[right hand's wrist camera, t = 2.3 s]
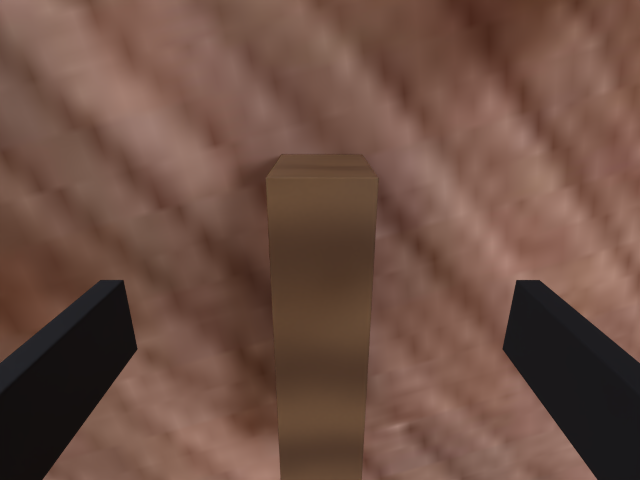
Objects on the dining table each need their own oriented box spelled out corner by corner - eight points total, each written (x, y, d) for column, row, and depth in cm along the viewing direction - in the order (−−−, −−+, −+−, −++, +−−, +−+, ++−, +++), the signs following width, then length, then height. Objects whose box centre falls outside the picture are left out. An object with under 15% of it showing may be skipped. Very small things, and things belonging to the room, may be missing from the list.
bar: (281, 154, 26) (265, 177, 19) (362, 154, 26) (378, 177, 19) (290, 414, 34) (281, 503, 27) (351, 414, 34) (360, 503, 27)
